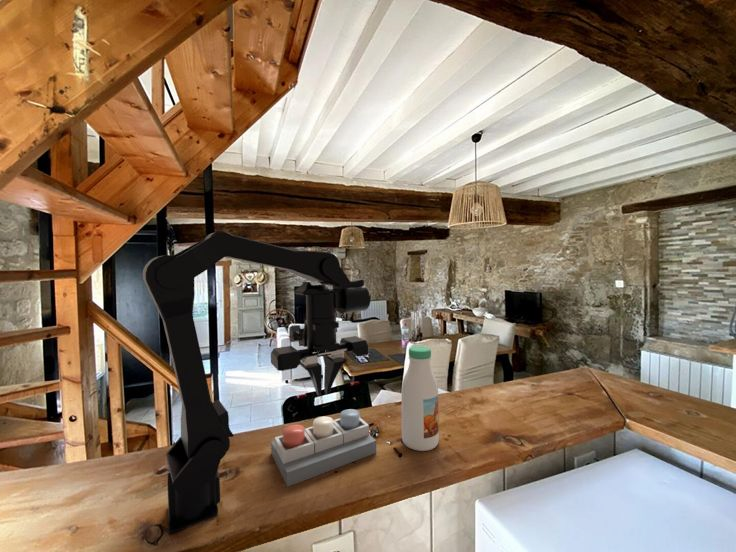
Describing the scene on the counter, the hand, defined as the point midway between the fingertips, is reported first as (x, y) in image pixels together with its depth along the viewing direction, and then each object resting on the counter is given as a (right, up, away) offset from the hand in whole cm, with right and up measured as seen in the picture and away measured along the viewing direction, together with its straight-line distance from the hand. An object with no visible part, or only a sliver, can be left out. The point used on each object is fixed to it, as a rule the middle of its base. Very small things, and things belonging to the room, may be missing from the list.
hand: (322, 394), depth 63 cm
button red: (-5, -8, -3) cm, 10 cm away
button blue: (+5, -8, +3) cm, 10 cm away
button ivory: (0, -8, 0) cm, 8 cm away
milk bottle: (+20, -12, +4) cm, 24 cm away
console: (0, -12, +1) cm, 12 cm away
